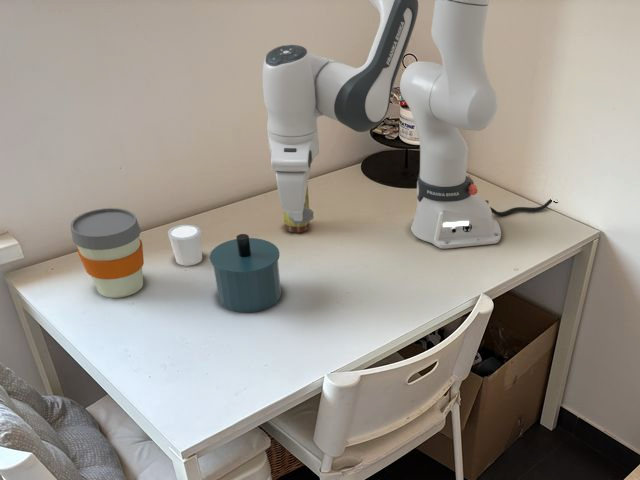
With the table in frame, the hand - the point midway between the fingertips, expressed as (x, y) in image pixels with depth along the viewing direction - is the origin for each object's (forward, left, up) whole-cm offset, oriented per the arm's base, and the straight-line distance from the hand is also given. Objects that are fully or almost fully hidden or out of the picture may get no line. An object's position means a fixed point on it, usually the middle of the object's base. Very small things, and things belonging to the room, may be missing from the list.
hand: (299, 212), depth 136 cm
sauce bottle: (+4, -32, -21) cm, 38 cm away
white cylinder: (+27, -17, -21) cm, 38 cm away
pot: (+12, -2, -21) cm, 24 cm away
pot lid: (+12, -2, -11) cm, 16 cm away
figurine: (0, 0, -2) cm, 2 cm away
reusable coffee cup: (+39, -6, -21) cm, 44 cm away
